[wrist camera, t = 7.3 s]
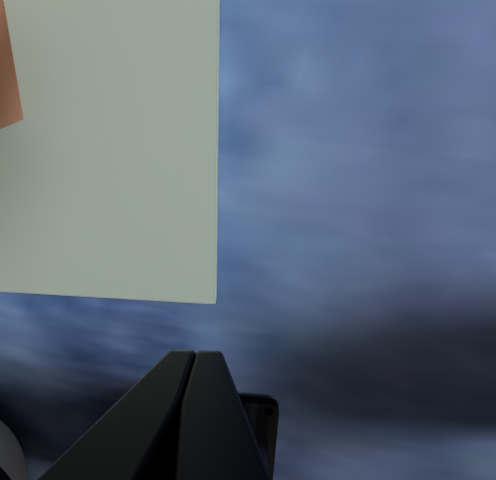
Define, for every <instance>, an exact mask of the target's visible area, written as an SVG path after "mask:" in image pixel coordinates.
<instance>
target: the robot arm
mask: <svg viewBox="0 0 496 480" xmlns="http://www.w3.org/2000/svg"><path fill="white" fill-rule="evenodd" d="M266 408H271V409H266ZM278 416H279V405H278V403H277V401H275V400H274V399H270V398H256V397H240V396H239V395H238V392H237V389H236V387H235V384H234V382H233V379H232V377H231V374H230V371H229V369H228V366H227V364H226V361H225V358H224V356H223V354H222V353H221V352H220V351H198V352H197V353H195V352H194V351H193V350H171V351H169V352H168V353H167V354H166V355H165V356H164V357H163V358H162V359H161V360H160V361H159V362H158V363H157V364H156V365H155V366H154V367H153V368H151V369H150V370H149V371H148V372H147V373H146V374H145V375H144V376H143V377H142V378H141V379H140V380H139V381H138V382H137V383H136V384H135V385H134V386H133V387H132V388H131V389H130V390H129V391H128V392H127V393H126V394H125V395H124V396H123V397H122V398H121V399H119V400H118V401H117V402H116V403H115V404H114V405H113V406H112V407H111V408H110V409H109V410H108V411H107V412H106V413H105V414H104V415H103V416H102V417H101V418H100V419H99V420H98V421H97V422H96V423H95V424H94V425H93V426H92V427H91V428H90V429H89V430H87V431H86V432H85V433H84V434H83V435H82V436H81V437H80V438H79V439H78V440H77V441H76V442H75V443H74V444H73V445H72V446H71V447H70V448H69V449H68V450H67V451H66V452H65V453H64V454H63V455H62V456H61V457H60V458H59V459H58V460H57V461H55V462H54V463H53V464H52V465H51V466H50V467H49V468H48V469H47V470H46V471H45V472H44V473H43V474H42V475H41V476H40V477H39V478H38V479H37V480H273V470H274V459H275V448H276V437H277V426H278Z"/></svg>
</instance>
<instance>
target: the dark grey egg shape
mask: <svg viewBox="0 0 496 480" xmlns="http://www.w3.org/2000/svg"><path fill="white" fill-rule="evenodd" d="M0 480H27V474H26V464H25V458H24V455H23V452H22V449H21V447H20V445H19V442H18V441H17V439H16V437H15V436H14V434H13V433H12V431H11V430H10V429H9V428H8V427H7V426H6V425H5V424H4V423H3V422H2V421H1V420H0Z"/></svg>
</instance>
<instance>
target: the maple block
mask: <svg viewBox="0 0 496 480" xmlns="http://www.w3.org/2000/svg"><path fill="white" fill-rule="evenodd" d="M23 119H24V118H23V112H22V107H21V101H20V95H19V89H18V83H17V77H16V71H15V65H14V59H13V54H12V48H11V42H10V36H9V30H8V24H7V18H6V12H5V7H4V1H3V0H0V129H2V128H4V127H7V126H9V125H11V124H14V123H16V122H19V121H21V120H23Z"/></svg>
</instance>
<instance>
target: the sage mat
mask: <svg viewBox="0 0 496 480" xmlns="http://www.w3.org/2000/svg"><path fill="white" fill-rule="evenodd" d="M3 1H4V7H5V12H6V18H7V24H8V30H9V36H10V42H11V48H12V54H13V59H14V65H15V71H16V77H17V83H18V89H19V95H20V101H21V107H22V112H23V118H24V119H23V120H21V121H19V122H16V123H14V124H11V125H9V126H7V127H4V128H2V129H0V292H16V293H33V294H50V295H67V296H85V297H102V298H119V299H136V300H153V301H170V302H187V303H205V304H215V302H216V297H217V218H218V129H219V40H220V0H3Z"/></svg>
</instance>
